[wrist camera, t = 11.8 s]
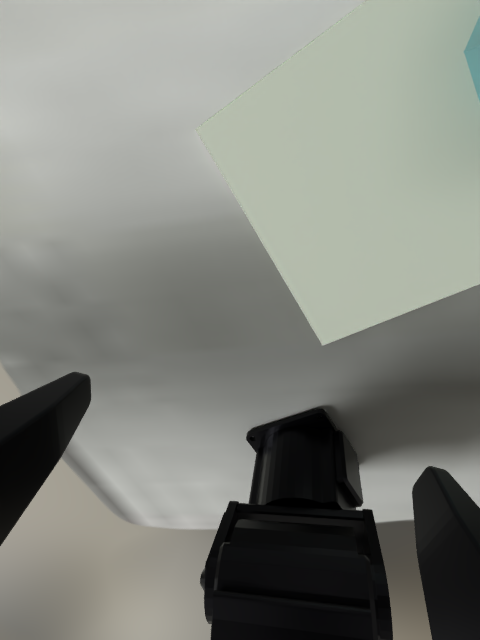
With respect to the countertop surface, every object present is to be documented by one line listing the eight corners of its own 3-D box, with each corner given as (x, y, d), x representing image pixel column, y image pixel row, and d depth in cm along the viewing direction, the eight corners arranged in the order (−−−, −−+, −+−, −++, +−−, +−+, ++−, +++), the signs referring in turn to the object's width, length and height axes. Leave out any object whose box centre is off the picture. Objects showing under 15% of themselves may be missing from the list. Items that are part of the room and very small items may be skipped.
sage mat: (322, 342, 23) (322, 345, 22) (197, 129, 18) (195, 129, 18) (731, 179, 15) (741, 180, 15) (706, -255, 11) (720, -267, 10)
